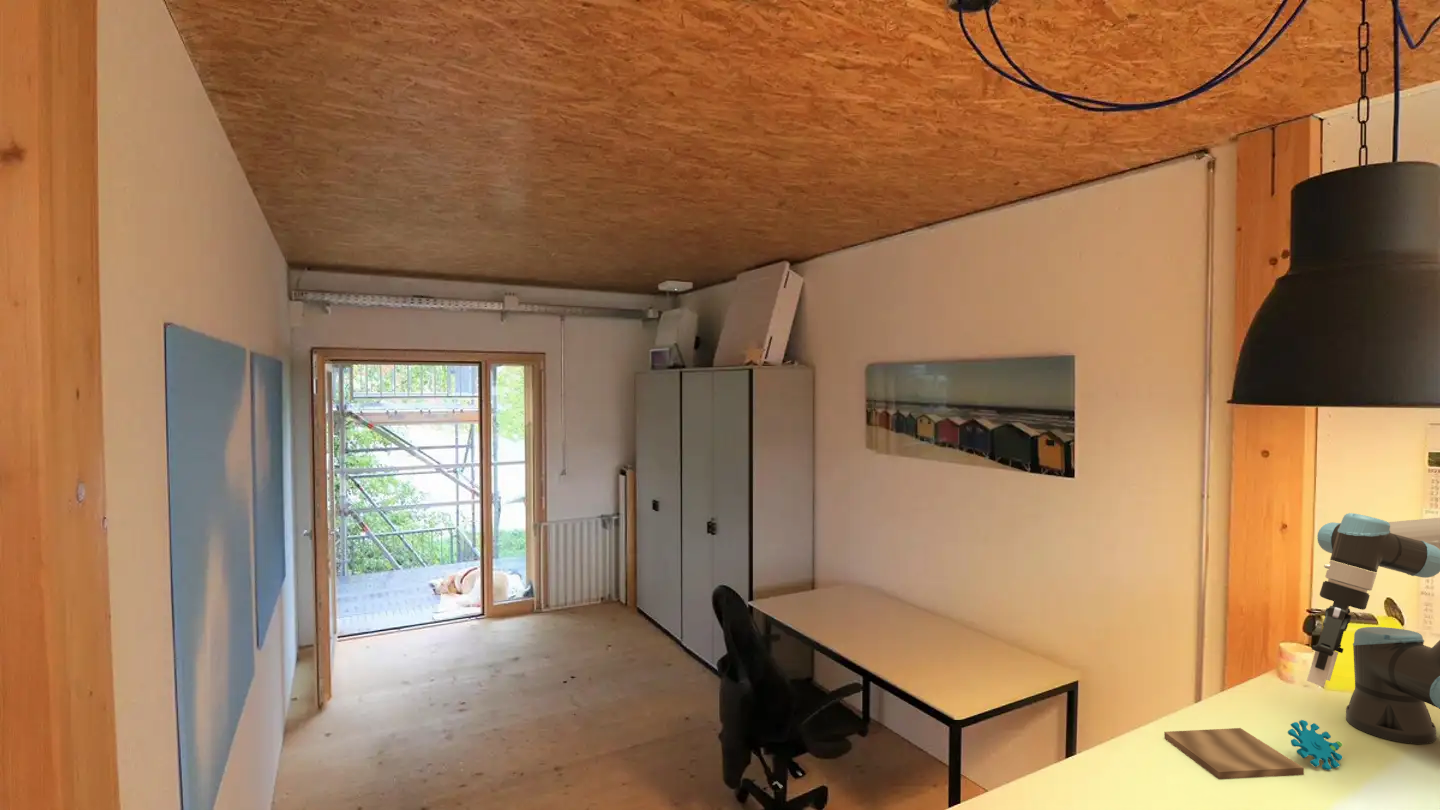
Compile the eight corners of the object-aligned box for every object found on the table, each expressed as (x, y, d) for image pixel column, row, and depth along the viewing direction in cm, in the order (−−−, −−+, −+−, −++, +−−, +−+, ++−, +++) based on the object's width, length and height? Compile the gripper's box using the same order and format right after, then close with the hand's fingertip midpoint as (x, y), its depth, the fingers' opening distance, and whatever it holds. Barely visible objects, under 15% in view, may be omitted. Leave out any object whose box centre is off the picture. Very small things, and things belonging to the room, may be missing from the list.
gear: (1307, 766, 143) (1283, 716, 150) (1288, 774, 148) (1265, 726, 155) (1359, 770, 144) (1332, 721, 151) (1338, 779, 148) (1313, 730, 155)
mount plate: (1240, 734, 160) (1240, 728, 160) (1303, 774, 143) (1303, 767, 143) (1164, 738, 160) (1164, 731, 160) (1218, 779, 143) (1218, 772, 143)
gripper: (1329, 579, 158) (1303, 667, 158) (1318, 578, 141) (1288, 677, 141) (1373, 592, 152) (1346, 683, 153) (1367, 593, 135) (1336, 695, 135)
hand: (1318, 680), depth 147 cm, fingers open, 13 cm apart
